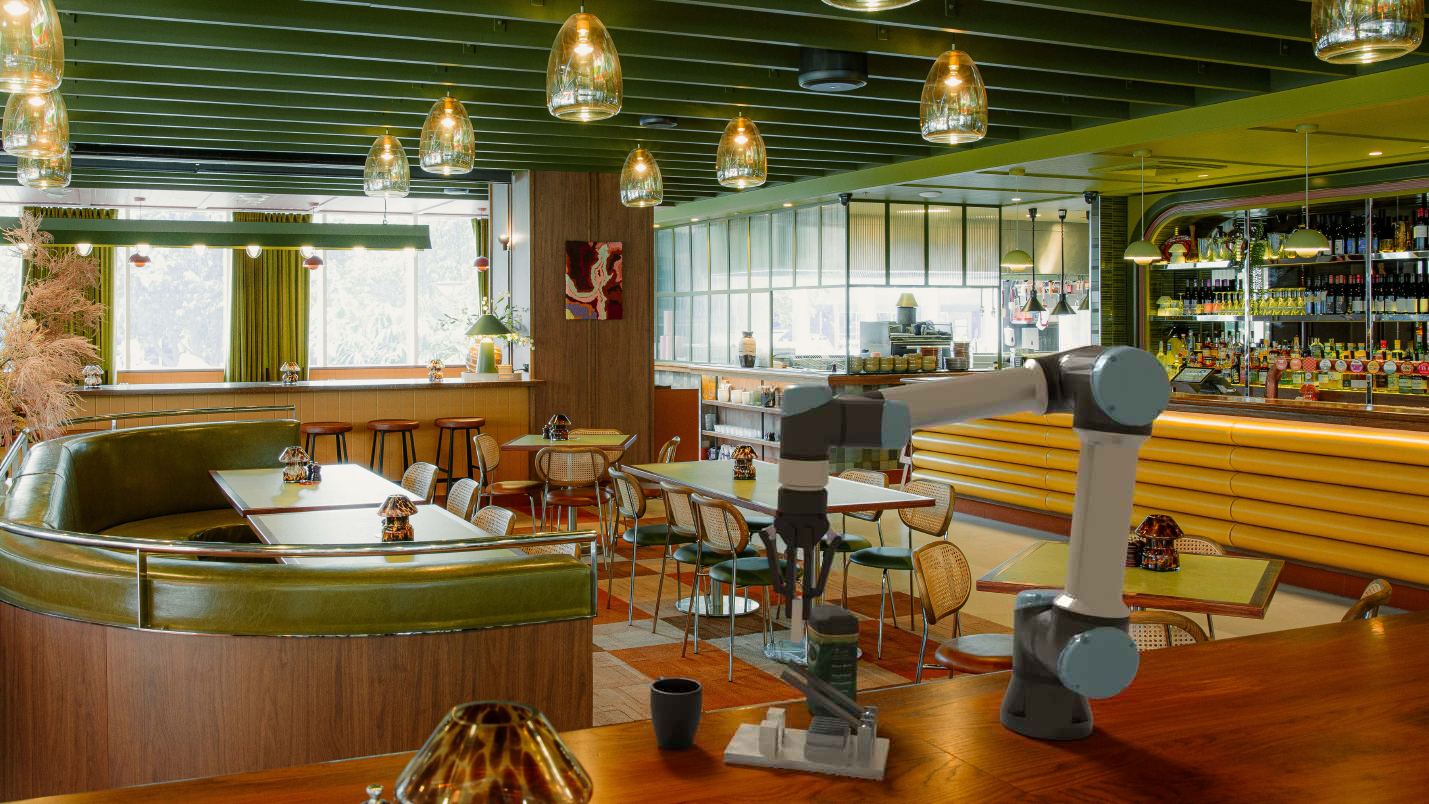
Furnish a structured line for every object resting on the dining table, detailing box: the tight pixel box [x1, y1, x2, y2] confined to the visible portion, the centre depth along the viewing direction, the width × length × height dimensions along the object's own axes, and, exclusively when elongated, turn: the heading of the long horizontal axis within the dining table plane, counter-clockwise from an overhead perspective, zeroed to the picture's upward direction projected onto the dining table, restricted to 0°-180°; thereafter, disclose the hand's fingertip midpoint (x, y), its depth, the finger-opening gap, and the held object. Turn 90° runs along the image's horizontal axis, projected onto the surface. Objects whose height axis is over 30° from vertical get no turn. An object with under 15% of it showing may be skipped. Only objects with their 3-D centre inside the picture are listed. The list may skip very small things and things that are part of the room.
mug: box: [649, 675, 703, 752], centre depth 174 cm, size 8×12×10 cm
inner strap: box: [785, 658, 875, 718], centre depth 171 cm, size 16×2×2 cm
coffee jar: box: [805, 603, 860, 719], centre depth 188 cm, size 10×8×19 cm
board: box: [723, 705, 890, 781], centre depth 169 cm, size 24×13×7 cm, turn 77°
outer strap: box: [779, 669, 872, 731], centre depth 165 cm, size 16×2×2 cm
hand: (797, 640), depth 166 cm, fingers closed
